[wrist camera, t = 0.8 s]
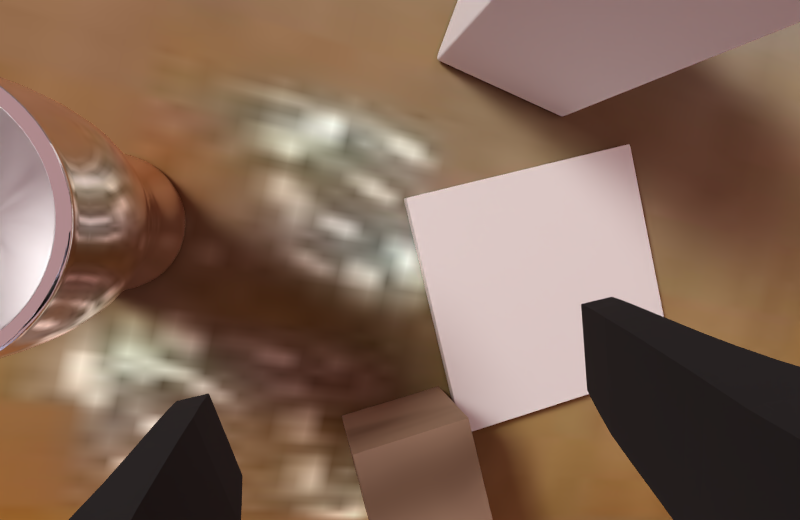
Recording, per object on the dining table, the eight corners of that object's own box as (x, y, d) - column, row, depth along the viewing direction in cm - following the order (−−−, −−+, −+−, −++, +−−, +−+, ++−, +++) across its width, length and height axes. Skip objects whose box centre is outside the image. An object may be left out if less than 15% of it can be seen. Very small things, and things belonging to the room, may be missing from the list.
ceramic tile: (666, 364, 31) (673, 366, 31) (459, 430, 29) (462, 434, 29) (623, 145, 30) (629, 144, 30) (403, 198, 28) (406, 198, 28)
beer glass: (229, 224, 27) (159, 222, 12) (114, 332, 26) (-111, 469, 11) (113, 109, 25) (-123, -51, 11) (-11, 219, 25) (-445, 207, 10)
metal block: (460, 478, 30) (494, 528, 25) (365, 509, 29) (382, 568, 24) (438, 385, 29) (468, 417, 24) (341, 415, 28) (352, 454, 23)
